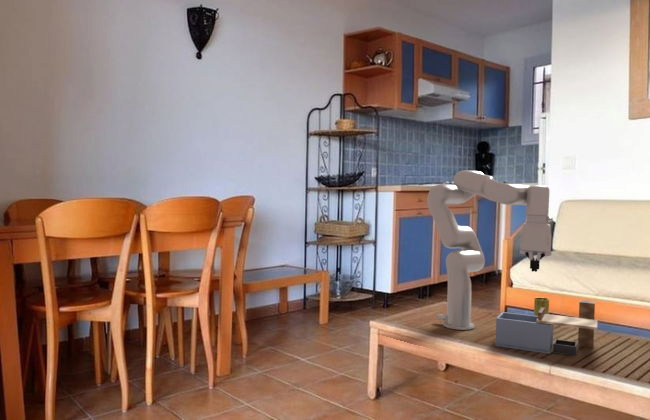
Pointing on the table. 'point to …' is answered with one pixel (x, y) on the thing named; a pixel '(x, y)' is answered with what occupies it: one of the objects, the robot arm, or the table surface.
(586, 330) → the brown wooden block
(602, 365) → the table surface
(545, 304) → the vase
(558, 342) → the socket
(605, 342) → the table surface
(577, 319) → the lid
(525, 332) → the toolbox
